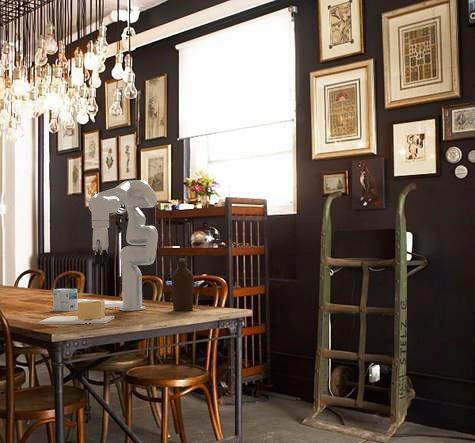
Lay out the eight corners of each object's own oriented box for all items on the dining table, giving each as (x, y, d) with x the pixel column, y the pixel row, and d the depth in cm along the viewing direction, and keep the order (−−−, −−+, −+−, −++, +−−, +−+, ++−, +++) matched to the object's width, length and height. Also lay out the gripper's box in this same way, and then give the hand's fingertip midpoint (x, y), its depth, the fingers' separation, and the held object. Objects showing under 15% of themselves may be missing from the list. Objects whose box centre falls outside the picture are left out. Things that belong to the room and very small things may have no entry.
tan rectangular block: (82, 317, 280) (81, 300, 280) (104, 317, 279) (104, 300, 279) (78, 319, 274) (77, 302, 274) (101, 318, 273) (101, 302, 273)
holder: (57, 304, 357) (57, 299, 358) (87, 301, 369) (87, 297, 369) (94, 310, 322) (94, 305, 323) (125, 307, 334) (125, 302, 334)
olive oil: (182, 311, 304) (182, 259, 305) (167, 310, 311) (166, 259, 312) (198, 309, 312) (197, 258, 313) (183, 308, 319) (182, 258, 320)
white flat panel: (52, 319, 285) (52, 316, 285) (114, 318, 284) (114, 315, 284) (39, 324, 269) (39, 320, 269) (105, 323, 268) (105, 320, 268)
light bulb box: (78, 310, 321) (78, 288, 321) (69, 311, 315) (69, 289, 315) (61, 309, 326) (61, 288, 326) (52, 311, 319) (52, 289, 320)
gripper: (97, 224, 293) (98, 261, 294) (86, 225, 276) (88, 264, 276) (113, 223, 293) (114, 261, 293) (103, 224, 276) (105, 264, 276)
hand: (101, 262), depth 285 cm, fingers open, 9 cm apart
